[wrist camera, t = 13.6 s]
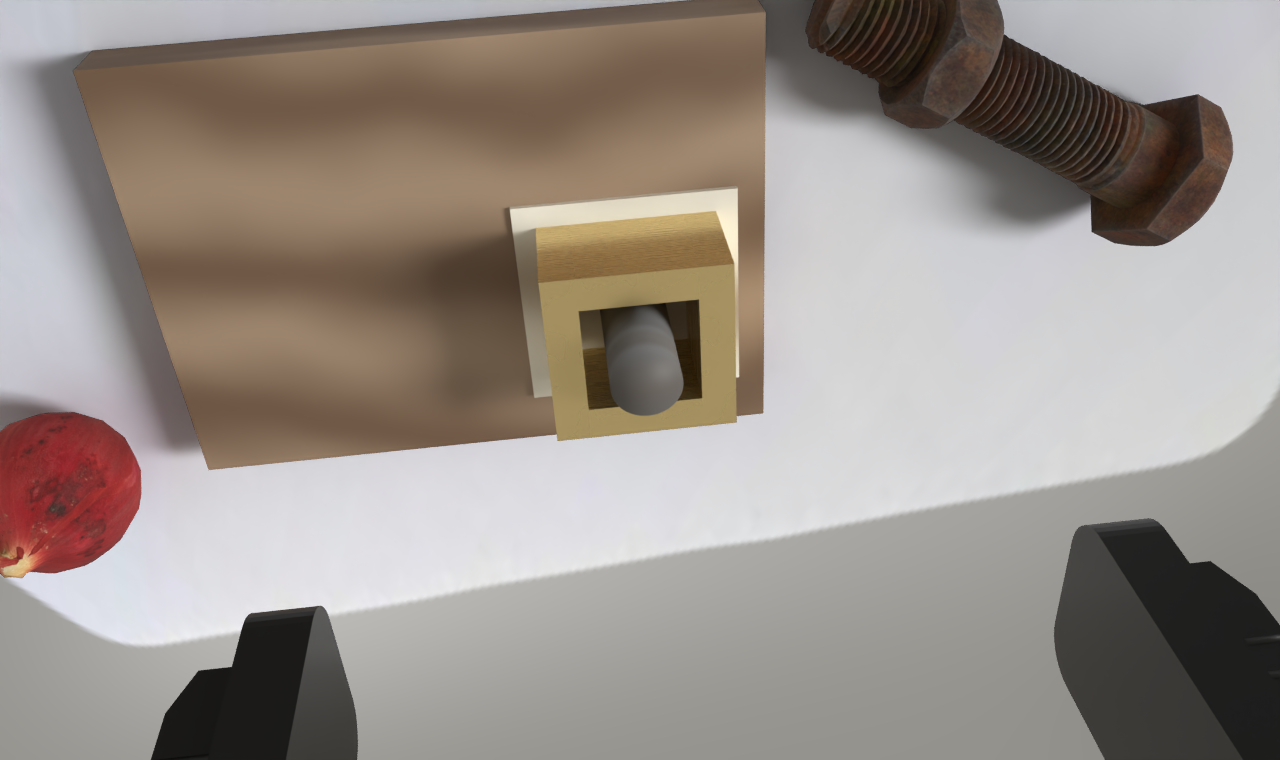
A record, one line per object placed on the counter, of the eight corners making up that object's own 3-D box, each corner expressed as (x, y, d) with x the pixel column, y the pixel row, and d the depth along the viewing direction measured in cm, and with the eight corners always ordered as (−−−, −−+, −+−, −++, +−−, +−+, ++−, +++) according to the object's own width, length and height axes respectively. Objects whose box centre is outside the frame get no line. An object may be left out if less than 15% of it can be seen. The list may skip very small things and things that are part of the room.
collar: (535, 228, 40) (538, 283, 37) (715, 210, 41) (734, 264, 37) (553, 378, 44) (557, 441, 41) (719, 361, 44) (736, 422, 41)
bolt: (815, -51, 40) (1143, 127, 44) (764, 83, 40) (1097, 248, 44) (898, -103, 34) (1263, 106, 39) (838, 53, 34) (1210, 245, 39)
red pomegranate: (72, 345, 44) (-6, 475, 37) (193, 436, 46) (141, 572, 40) (-24, 427, 45) (-116, 567, 38) (98, 511, 48) (33, 654, 41)
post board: (92, 50, 38) (3, 144, 31) (754, -6, 39) (806, 73, 32) (219, 439, 47) (171, 576, 40) (754, 385, 48) (794, 509, 41)
